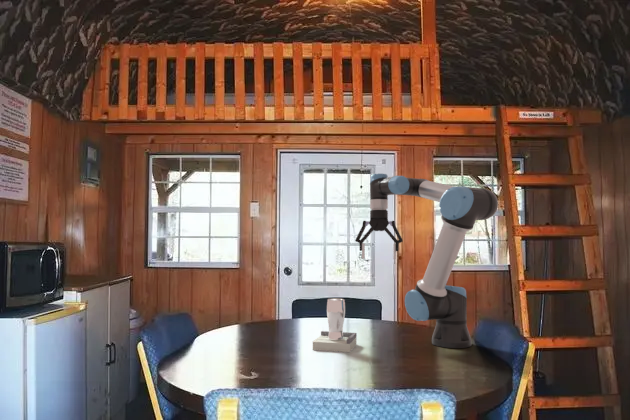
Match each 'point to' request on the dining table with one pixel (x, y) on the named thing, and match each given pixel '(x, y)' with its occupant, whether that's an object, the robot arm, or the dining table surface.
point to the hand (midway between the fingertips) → (378, 258)
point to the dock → (335, 342)
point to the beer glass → (335, 318)
